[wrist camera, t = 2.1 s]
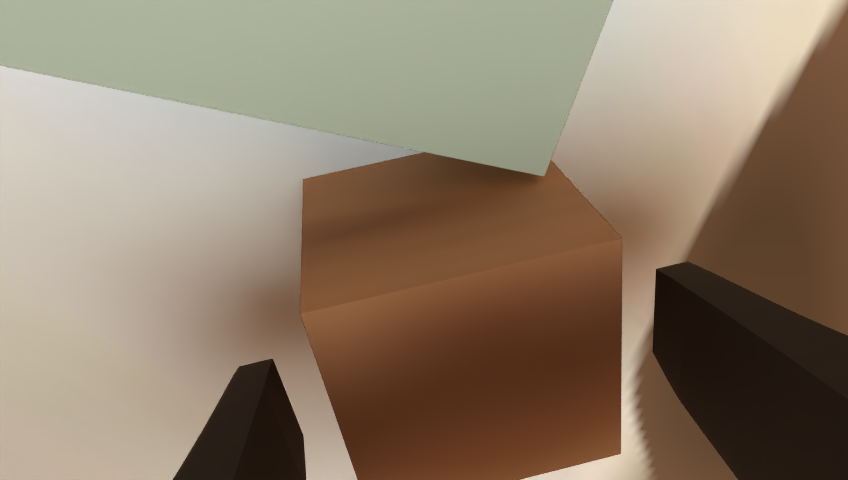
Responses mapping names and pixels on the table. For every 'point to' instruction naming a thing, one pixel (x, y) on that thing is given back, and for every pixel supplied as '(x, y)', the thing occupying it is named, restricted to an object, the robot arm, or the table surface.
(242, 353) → the table surface
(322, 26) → the sage green box
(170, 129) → the table surface
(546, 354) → the walnut cube
